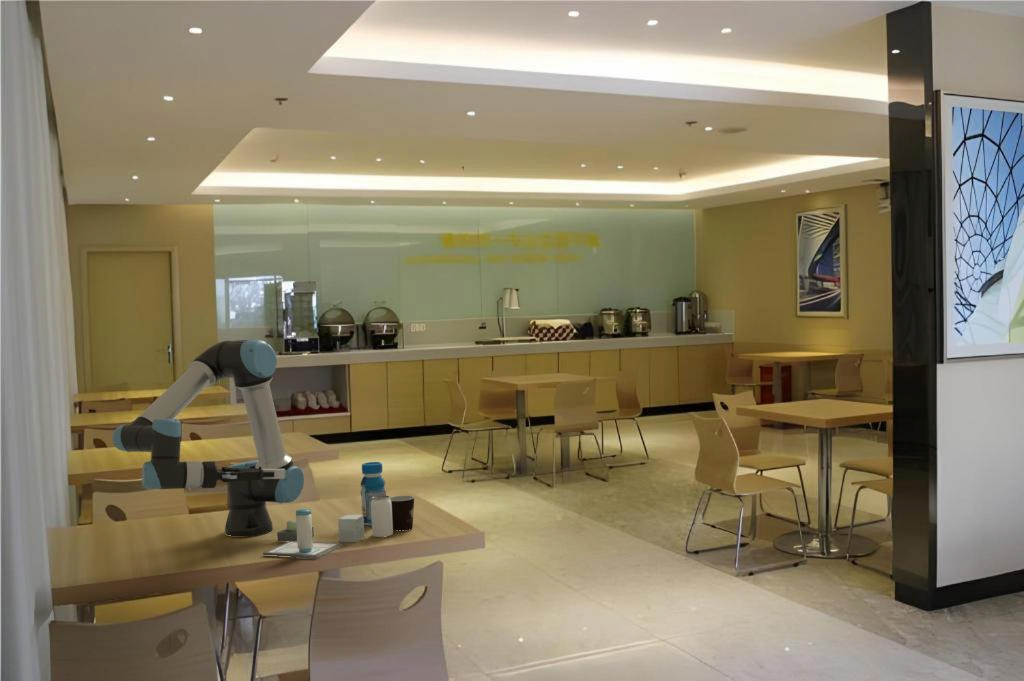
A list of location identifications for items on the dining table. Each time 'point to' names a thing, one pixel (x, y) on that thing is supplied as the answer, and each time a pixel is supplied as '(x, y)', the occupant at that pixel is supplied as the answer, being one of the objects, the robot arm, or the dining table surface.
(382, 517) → the can
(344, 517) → the product box
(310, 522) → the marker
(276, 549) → the picture board
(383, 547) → the dining table surface
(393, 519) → the coffee mug
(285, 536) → the button box
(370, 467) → the beverage bottle
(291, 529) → the button
